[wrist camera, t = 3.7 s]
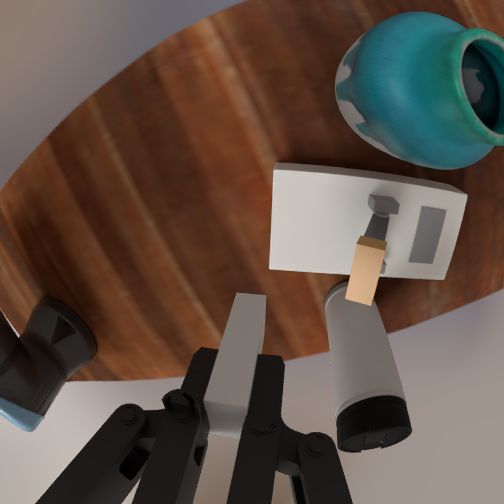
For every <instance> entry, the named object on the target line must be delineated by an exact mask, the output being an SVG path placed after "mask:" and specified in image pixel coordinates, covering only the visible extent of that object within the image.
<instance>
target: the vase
mask: <svg viewBox="0 0 504 504" xmlns="http://www.w3.org/2000/svg"><path fill="white" fill-rule="evenodd" d="M335 95H336V101H337V104H338V107H339V110H340V112H341V114H342V116H343V117H344V119H345V120H346V122H347V123H348V125H349V126H350V127H351V128H352V129H353V130H354V132H356V133H357V134H358V135H359V136H360V137H361V138H362V139H364V140H365V141H367V142H368V143H370V144H371V145H373V146H374V147H376V148H378V149H379V150H382V151H384V152H386V153H388V154H390V155H392V156H394V157H396V158H399V159H401V160H404V161H407V162H410V163H413V164H416V165H420V166H424V167H429V168H435V169H458V168H463V167H467V166H469V165H472V164H474V163H476V162H477V161H479V160H480V159H482V158H483V157H485V156H486V155H487V154H488V153H489V152H490V151H491V150H492V148H493V147H494V145H496V146H504V40H503V39H502V38H501V37H499V36H498V35H496V34H494V33H492V32H490V31H488V30H485V29H479V28H472V29H466V28H464V27H463V26H462V25H460V24H458V23H457V22H455V21H453V20H451V19H449V18H446V17H443V16H441V15H438V14H434V13H428V12H407V13H402V14H398V15H395V16H392V17H390V18H388V19H385V20H383V21H381V22H379V23H378V24H376V25H375V26H373V27H372V28H371V29H369V30H368V31H367V32H365V33H364V34H363V35H362V36H361V37H360V38H358V40H357V41H356V42H355V43H354V44H353V45H352V46H351V47H350V48H349V50H348V51H347V52H346V54H345V56H344V57H343V59H342V61H341V63H340V65H339V68H338V70H337V73H336V79H335Z"/></svg>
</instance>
